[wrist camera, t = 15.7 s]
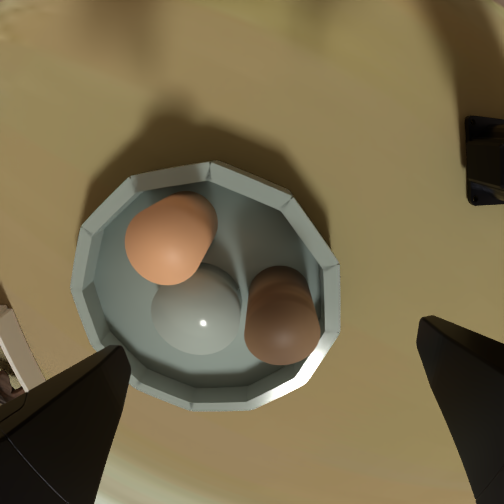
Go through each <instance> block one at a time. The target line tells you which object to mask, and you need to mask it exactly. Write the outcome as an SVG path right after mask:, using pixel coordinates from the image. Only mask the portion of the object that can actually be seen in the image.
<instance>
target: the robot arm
mask: <svg viewBox="0 0 504 504" xmlns="http://www.w3.org/2000/svg"><path fill="white" fill-rule="evenodd" d="M471 120H472V125H471V123H470V121H471ZM465 129H466V143H467V144H466V148H467V175H468V201H469V203H470V204H472V205H475V206H479V205H496V204H504V120H502V119H495V118H488V117H480V116H467V117H466V118H465ZM474 196H475V200H474V201H473V197H474ZM416 344H417V349H418V352H419V355H420V357H421V360H422V363H423V366H424V369H425V372H426V375H427V378H428V381H429V384H430V387H431V389H432V391H433V394H434V396H435V398H436V400H437V402H438V405H439V407H440V409H441V411H442V414H443V416H444V418H445V421H446V423H447V425H448V428H449V430H450V432H451V435H452V437H453V440H454V442H455V445H456V447H457V450H458V452H459V455H460V458H461V460H462V463H463V466H464V468H465V471H466V474H467V477H468V479H469V482H470V485H471V488H472V491H473V494H474V497H475V499H476V504H504V344H503V343H501V342H498V341H496V340H493V339H491V338H488V337H486V336H483V335H481V334H478V333H476V332H473V331H471V330H469V329H466V328H464V327H461V326H459V325H456V324H454V323H451V322H449V321H446V320H444V319H441V318H439V317H436V316H434V315H431V316H426V317H422V318H421V319H420V322H419V328H418V334H417V341H416ZM130 376H131V365H130V363H129V360H128V357H127V355H126V352H125V350H124V348H123V346H121V345H108V346H107V347H105V348H103V349H101V350H100V351H98V352H96V353H94V354H93V355H91V356H89V357H87V358H86V359H84V360H82V361H80V362H79V363H77V364H75V365H73V366H72V367H70V368H68V369H66V370H64V371H63V372H61V373H59V374H57V375H56V376H54V377H52V378H50V379H48V380H47V381H45V382H43V383H41V384H40V385H38V386H36V387H34V388H32V389H31V390H29V391H28V392H25V393H23V394H22V395H20V396H18V397H16V398H14V399H12V400H10V401H9V402H7V403H5V404H3V405H1V406H0V504H94V502H95V499H96V495H97V491H98V488H99V484H100V481H101V478H102V474H103V471H104V467H105V464H106V461H107V458H108V454H109V451H110V448H111V445H112V442H113V439H114V436H115V432H116V429H117V426H118V423H119V420H120V417H121V414H122V411H123V407H124V402H125V398H126V393H127V389H128V385H129V380H130Z"/></svg>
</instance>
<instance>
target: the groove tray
mask: <svg viewBox="0 0 504 504" xmlns="http://www.w3.org/2000/svg"><path fill="white" fill-rule="evenodd" d="M179 191H192V192H196V193H198V194H200V195H202V196H204V197H205V198H206V199H207V200H208V201H209V202H210V203H211V204H212V206H213V207H214V209H215V211H216V214H217V218H218V228H217V232H216V235H215V237H214V239H213V241H212V243H211V245H210V247H209V248H208V250H207V252H206V254H205V256H204V258H203V259H202V261H201V263H200V265H199V267H198V269H197V270H196V272H195V273H194V274H193V275H192V276H191V277H190V278H189V279H187V280H185V281H184V282H181V283H179V284H175V285H160V284H156V283H153V282H151V281H149V280H147V279H145V278H144V277H142V276H141V275H140V274H139V273H138V272H137V271H136V270H135V269H134V268H133V266H132V265H131V263H130V261H129V259H128V257H127V254H126V249H125V235H126V230H127V228H128V225H129V224H130V222H131V220H132V219H133V218H134V217H135V216H136V215H137V214H138V213H139V212H141V211H143V210H144V209H146V208H148V207H150V206H151V205H153V204H155V203H157V202H159V201H160V200H162V199H164V198H166V197H168V196H169V195H171V194H173V193H176V192H179ZM81 226H82V227H80V232H79V237H78V242H77V248H76V253H75V259H74V265H73V272H72V278H71V285H70V288H71V293H72V296H73V299H74V301H75V304H76V307H77V310H78V313H79V316H80V318H81V321H82V324H83V326H84V329H85V331H86V334H87V337H88V339H89V342H90V344H91V345H92V347H93V348H94V349H95V350H96V351H97V352H98V351H100V350H101V349H103V348H105V347H107V346H108V345H121V346H123V348H124V350H125V352H126V355H127V357H128V360H129V363H130V365H131V376H130V380H129V384H130V385H131V386H132V387H134V388H135V387H136V389H137V390H139V391H141V392H144V393H146V394H148V395H151V396H153V397H156V398H158V399H160V400H163V401H166V402H168V403H171V404H173V405H176V406H178V407H181V408H184V409H187V410H189V411H191V410H192V411H246V410H251V409H252V410H253V409H255V408H258V407H260V406H262V405H264V404H266V403H268V402H270V401H272V400H275V399H277V398H279V397H281V396H283V395H285V394H287V393H289V392H291V391H293V390H295V389H297V388H298V387H300V386H302V385H304V384H305V383H306V382H307V381H308V380H309V378H310V377H311V375H312V374H313V373H314V371H315V370H316V368H317V367H318V365H319V364H320V362H321V361H322V359H323V358H324V356H325V355H326V353H327V352H328V350H329V349H330V347H331V346H332V344H333V343H334V341H335V340H336V338H337V337H338V335H339V334H340V333H339V332H340V264H339V262H338V260H337V258H336V257H335V255H334V253H333V252H332V250H331V248H330V247H329V246H328V244H327V243H326V241H325V240H324V238H323V237H322V235H321V234H320V232H319V231H318V230H317V228H316V227H315V225H314V224H313V222H312V221H311V220H310V218H309V217H308V215H307V214H306V213H305V211H304V210H303V208H302V207H301V206H300V204H299V203H298V201H297V200H296V199H295V197H294V196H293V194H292V193H291V192H290V191H289V190H288V189H286V188H284V187H281V186H279V185H277V184H274V183H272V182H270V181H267V180H265V179H263V178H260V177H258V176H256V175H253V174H251V173H249V172H246V171H244V170H241V169H239V168H236V167H234V166H232V165H229V164H227V163H224V162H222V161H219V160H213V161H206V162H200V163H194V164H187V165H181V166H176V167H170V168H165V169H159V170H154V171H149V172H144V173H140V174H136V175H133V176H131V177H128V178H127V179H126V180H125V181H124V182H123V183H122V184H121V185H120V186H119V187H118V188H117V189H116V190H115V191H114V192H113V193H112V194H111V195H110V196H109V197H108V198H107V199H106V200H105V201H104V202H103V203H102V204H101V205H100V206H99V207H98V208H97V209H96V210H95V211H94V212H93V213H92V215H91V216H90V217H89V218H88V219H87V220H86V221H85V222H84V223H83V224H82V225H81ZM272 266H288V267H291V268H293V269H295V270H297V271H299V272H300V273H301V274H302V275H303V276H304V277H305V279H306V281H307V283H308V286H309V289H310V293H311V296H312V300H313V303H314V307H315V311H316V314H317V318H318V322H319V325H320V331H321V333H320V340H319V342H318V345H317V346H316V348H315V349H314V351H313V352H312V353H311V354H310V355H309V356H307V357H306V358H305V359H303V360H301V361H299V362H296V363H293V364H289V365H273V364H269V363H266V362H263V361H261V360H259V359H258V358H256V357H255V356H254V355H253V354H252V353H251V352H250V351H249V349H248V348H247V346H246V343H245V340H244V330H245V321H246V312H247V304H248V295H249V288H250V285H251V282H252V280H253V279H254V277H255V276H256V275H257V274H258V273H259V272H261V271H262V270H264V269H266V268H268V267H272Z"/></svg>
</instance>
